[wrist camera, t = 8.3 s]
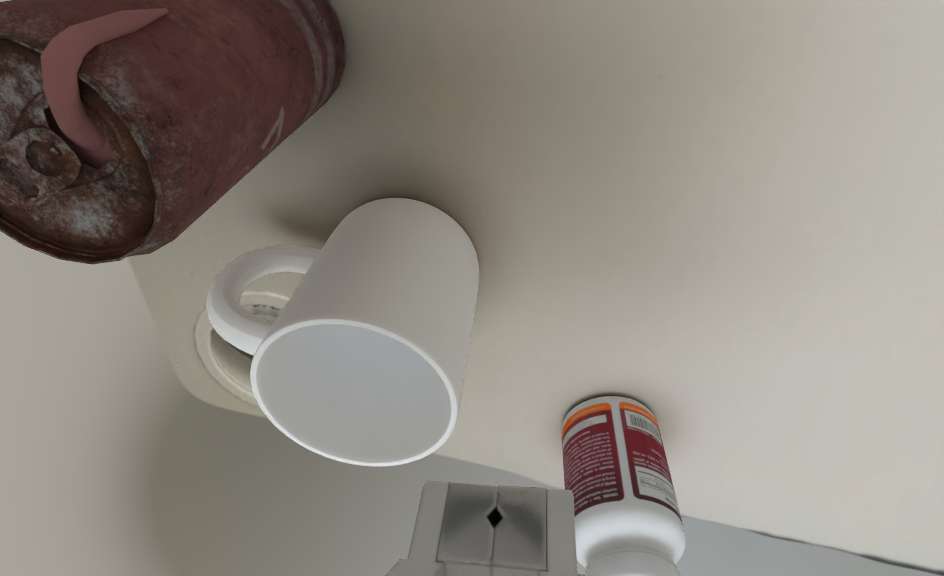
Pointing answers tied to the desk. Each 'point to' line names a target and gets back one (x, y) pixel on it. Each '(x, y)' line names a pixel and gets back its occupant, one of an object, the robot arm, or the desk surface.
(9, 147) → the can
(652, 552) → the pill bottle
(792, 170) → the desk surface
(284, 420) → the mug
